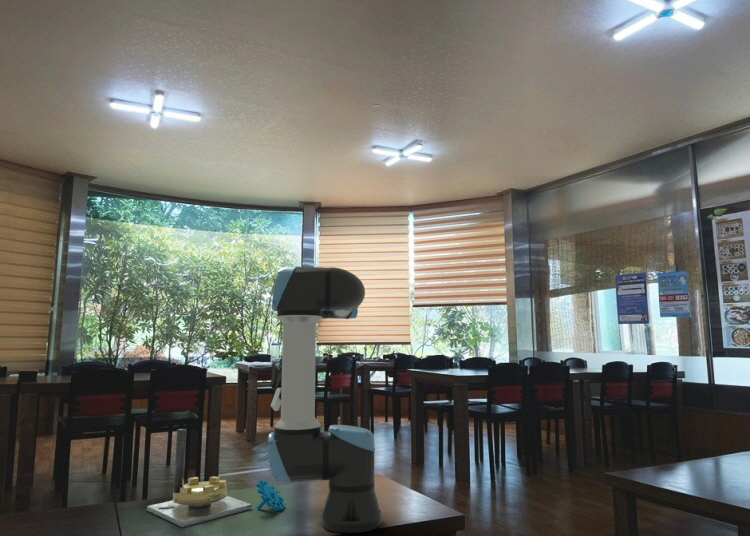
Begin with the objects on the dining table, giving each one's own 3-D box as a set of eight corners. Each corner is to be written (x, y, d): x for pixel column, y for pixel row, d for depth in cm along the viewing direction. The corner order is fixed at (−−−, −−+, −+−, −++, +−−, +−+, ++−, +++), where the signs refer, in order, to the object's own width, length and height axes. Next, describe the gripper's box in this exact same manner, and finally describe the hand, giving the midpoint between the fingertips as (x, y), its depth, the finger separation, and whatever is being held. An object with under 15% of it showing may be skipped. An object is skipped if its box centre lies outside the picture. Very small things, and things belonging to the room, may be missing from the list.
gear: (276, 510, 132) (254, 479, 136) (260, 526, 132) (238, 495, 136) (293, 504, 142) (272, 476, 146) (278, 519, 142) (257, 490, 146)
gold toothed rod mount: (215, 488, 148) (218, 422, 151) (234, 498, 138) (237, 427, 141) (165, 496, 140) (169, 427, 143) (181, 508, 129) (185, 432, 132)
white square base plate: (251, 509, 139) (251, 498, 139) (181, 527, 124) (182, 515, 125) (214, 495, 152) (214, 485, 153) (147, 510, 138) (147, 499, 138)
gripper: (317, 352, 172) (298, 414, 156) (284, 355, 177) (262, 415, 160) (308, 338, 168) (287, 400, 151) (274, 342, 172) (250, 402, 156)
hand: (274, 408), depth 156 cm, fingers closed
